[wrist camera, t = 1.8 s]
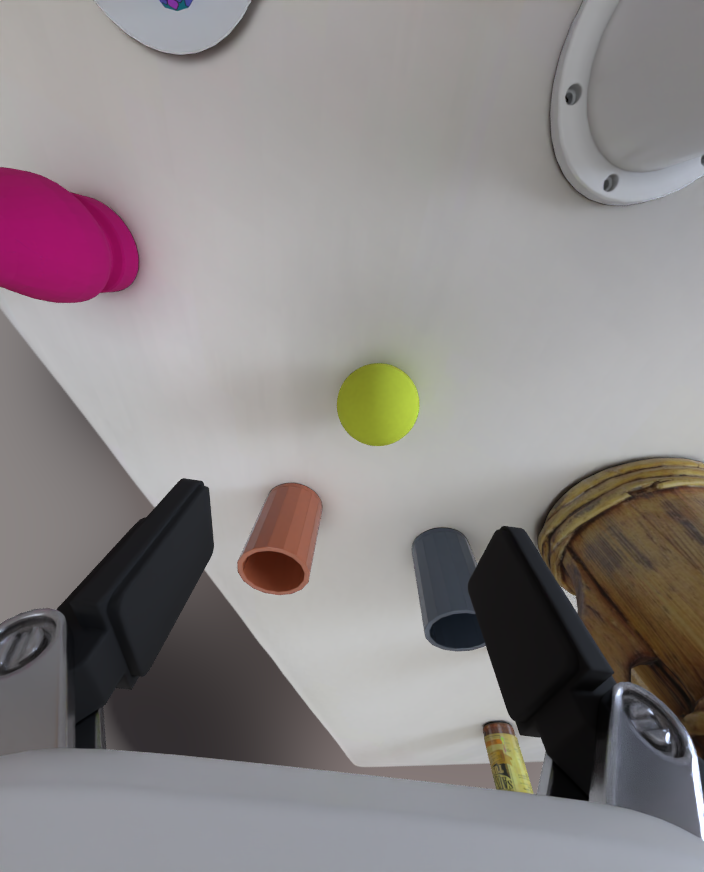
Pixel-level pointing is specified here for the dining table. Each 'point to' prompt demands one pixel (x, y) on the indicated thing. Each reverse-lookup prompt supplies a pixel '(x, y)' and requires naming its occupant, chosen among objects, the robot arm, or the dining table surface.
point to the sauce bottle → (506, 758)
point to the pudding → (176, 22)
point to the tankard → (639, 575)
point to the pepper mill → (60, 241)
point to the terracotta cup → (282, 541)
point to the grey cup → (446, 589)
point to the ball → (378, 404)
